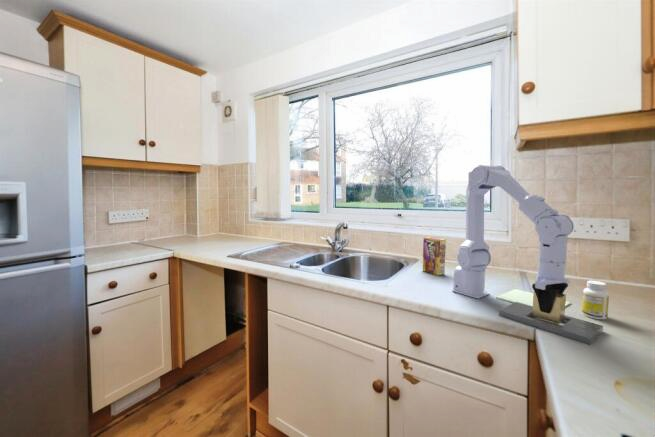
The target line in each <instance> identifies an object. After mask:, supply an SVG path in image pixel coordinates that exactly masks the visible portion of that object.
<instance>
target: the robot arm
mask: <svg viewBox="0 0 655 437" xmlns="http://www.w3.org/2000/svg"><path fill="white" fill-rule="evenodd" d="M467 180H468V183H467V186H466V190H465V192H466V193H465V194H466V195H465V196H466V198H465V200H466V201H465V204H466V206H465V208H466V209H465V240H464V242H463V243H461V244H460V246H459V250H458V253H457V258H456V259H457V263H458V264H459V265H457V266H456V267H455V269H454V270H453V286H452V287H453V289H451V290H452V292H455V293H458V294H461V295H465V296H467V297H471V298H474V299H481V298H483V297H485V296H487V295H490V292H488V291H485V285H486V270H487V269H488V266H489V265H490V264H491V262H492V255H491V253H490V246H489V245H488V243H487V242H485V238H484V237H485V195H486V194H487V193H488V192H489V191H490V190H492V189H494V188H496V187H499V188H500V189H502V190H503V191H504V192H505V193H507V195H508V196H510V197H512V199H513V200H515V201H516V202H517V203H518V204H519V205H518V209H519V211H521V213H522V214H523V215H525V217H527V219H529V220H530V221H531V222H532V223H533V224H534V225H535V226H534V227H535V231H536V233H537V235H538V236H539V237H538V241H539V250H538V265H537V266H538V267H537V274H536V280H535V283H532V290H533V292H534V291H535V293H536V296H537V299H538V303H539V308H540V311H542V312H545V313H550V312H551V310H552V306H553V302H554V299H555V297H556V295H557V293H561V294H564V292H565V291H566V289H567V288H568V287H569V284H570V283H571V279H569V278H566V277H565V275H566V264H567V250H568V237H569V236H570V235H571V233H573V231H574V228H575V225H574V222H573V220H572V219H571V218H570V216H568V215H566V214H560V213H559V211H558V210H557V209H556V208H555V209H554V208H553V207H552V206H550V205H549V204H548V203H547V202H545V200H546V199H545V197H543V196H539V195H536V194H532V195H531V194H530V193H529V192H528V191H527V190H526V189H525V188H524V187H523V186H522V185H521V184H520V183H519V182H518V181H517V180H516V179H515V178H514V177H513V176H512V175H511V171H509V170H507V169H506V167H504V166H502V165H482V164H477V165H475V166H474V167H473V168H472V169H471V170H470V171H468V179H467Z"/></svg>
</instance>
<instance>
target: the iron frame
mask: <svg viewBox="0 0 655 437" xmlns="http://www.w3.org/2000/svg"><path fill="white" fill-rule="evenodd" d="M532 310H533V306H530V305H526V304H522V303H519V302H515V303H510V304H509V305H507V306H505V307H502V308H501V309H499V310H498V311H499V312H498V316H500V317H503V318H506V319H510V320H512V321H515V322H518V323H522V324H525V325H528V326H531V327H534V328H537V329H541V330H543V331H546V332H549V333H552V334H555V335H559V336H561V337H565V338H569V339H570V340H573V341H574V340H575V341H578V342H580V343H583V344H586V345H589V346H590V345H591V344H592V343H593V342H594V341H595V340H596V339H598V337H599V336H600V335H602V333H603V332H604V325H603V324H598V323H594V322H591V321H589V320H587V321H586V320H583V319H580V318H576V317H572V316H569V315H564V321H562V322H561V323H563V325H560V326H559V325H556V324H554V323H549V322H548V321H545V320H541V319H538V318H537V319H536V318H533V317H534V316H532Z"/></svg>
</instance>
